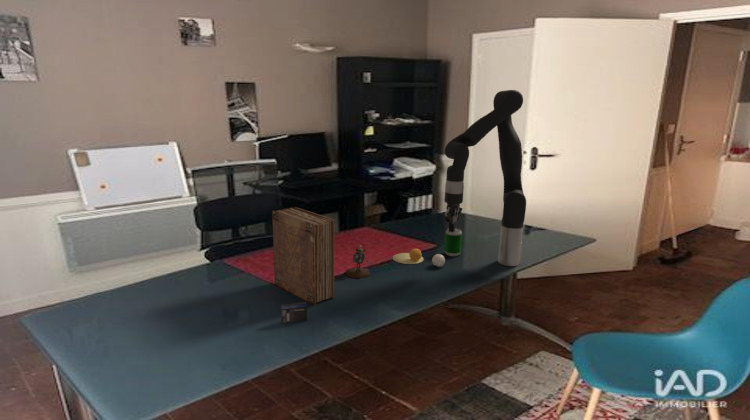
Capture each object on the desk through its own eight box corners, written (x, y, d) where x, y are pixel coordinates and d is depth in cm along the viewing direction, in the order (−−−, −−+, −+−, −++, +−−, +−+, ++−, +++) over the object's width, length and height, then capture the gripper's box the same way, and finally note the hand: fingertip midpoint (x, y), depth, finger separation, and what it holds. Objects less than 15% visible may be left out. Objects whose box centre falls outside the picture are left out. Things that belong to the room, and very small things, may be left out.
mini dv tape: (281, 323, 159) (281, 306, 157) (281, 321, 160) (280, 304, 159) (307, 320, 161) (306, 304, 160) (306, 318, 162) (306, 302, 161)
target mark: (412, 251, 230) (412, 251, 230) (429, 261, 218) (429, 260, 218) (386, 255, 223) (386, 255, 223) (402, 265, 211) (402, 265, 211)
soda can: (461, 257, 224) (463, 232, 221) (445, 256, 224) (446, 231, 221) (459, 251, 231) (461, 227, 228) (443, 251, 231) (444, 227, 228)
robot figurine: (353, 280, 195) (353, 252, 192) (339, 273, 202) (340, 246, 199) (374, 274, 202) (375, 246, 199) (361, 267, 208) (361, 241, 205)
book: (334, 298, 178) (334, 219, 170) (314, 306, 172) (313, 224, 164) (294, 278, 195) (292, 205, 188) (274, 284, 189) (272, 209, 182)
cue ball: (447, 255, 212) (442, 265, 215) (436, 249, 213) (431, 259, 215) (446, 261, 207) (440, 271, 210) (434, 255, 208) (429, 265, 210)
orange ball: (425, 252, 219) (416, 257, 222) (417, 244, 218) (409, 249, 221) (422, 260, 214) (413, 265, 218) (414, 251, 213) (405, 256, 217)
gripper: (454, 195, 193) (452, 237, 197) (469, 189, 203) (466, 229, 207) (438, 192, 197) (435, 233, 201) (453, 187, 207) (451, 226, 212)
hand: (451, 231), depth 204 cm, fingers closed
